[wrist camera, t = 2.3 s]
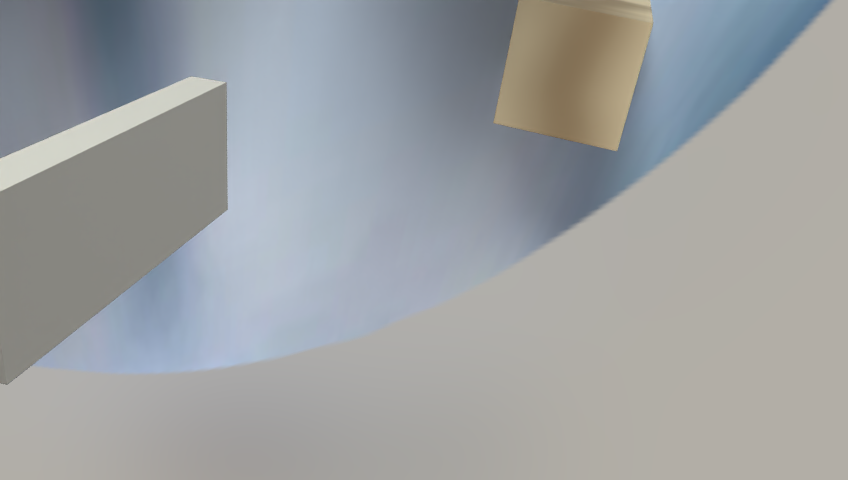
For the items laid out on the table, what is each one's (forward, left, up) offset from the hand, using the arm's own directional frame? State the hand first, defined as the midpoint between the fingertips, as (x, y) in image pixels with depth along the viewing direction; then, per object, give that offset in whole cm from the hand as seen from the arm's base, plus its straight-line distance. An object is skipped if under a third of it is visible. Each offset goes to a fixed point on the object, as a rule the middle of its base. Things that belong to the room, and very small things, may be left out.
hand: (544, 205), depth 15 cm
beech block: (0, -1, -25) cm, 25 cm away
